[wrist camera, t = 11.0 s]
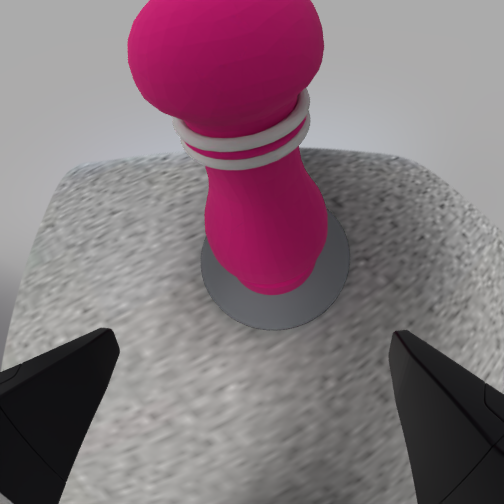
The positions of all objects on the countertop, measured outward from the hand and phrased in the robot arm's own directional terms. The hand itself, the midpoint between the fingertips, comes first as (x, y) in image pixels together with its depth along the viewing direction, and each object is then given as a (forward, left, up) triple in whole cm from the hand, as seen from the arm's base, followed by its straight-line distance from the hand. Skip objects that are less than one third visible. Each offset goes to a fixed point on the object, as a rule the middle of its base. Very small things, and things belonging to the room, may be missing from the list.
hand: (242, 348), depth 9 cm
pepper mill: (+8, -1, -11) cm, 14 cm away
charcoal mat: (+8, -1, -12) cm, 14 cm away
